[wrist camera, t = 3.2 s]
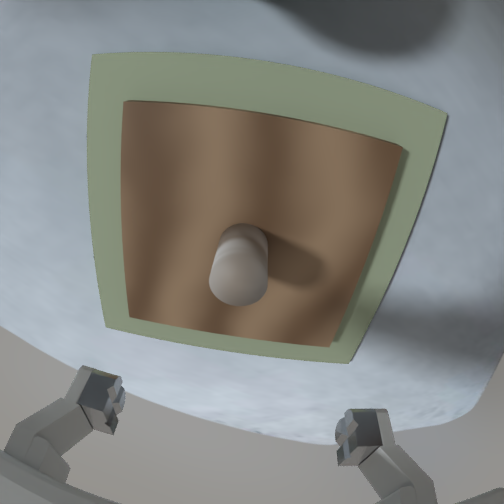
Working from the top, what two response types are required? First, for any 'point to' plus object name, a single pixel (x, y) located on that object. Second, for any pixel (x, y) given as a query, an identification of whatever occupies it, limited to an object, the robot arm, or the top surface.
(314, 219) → the walnut lid
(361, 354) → the top surface
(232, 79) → the olive mat
